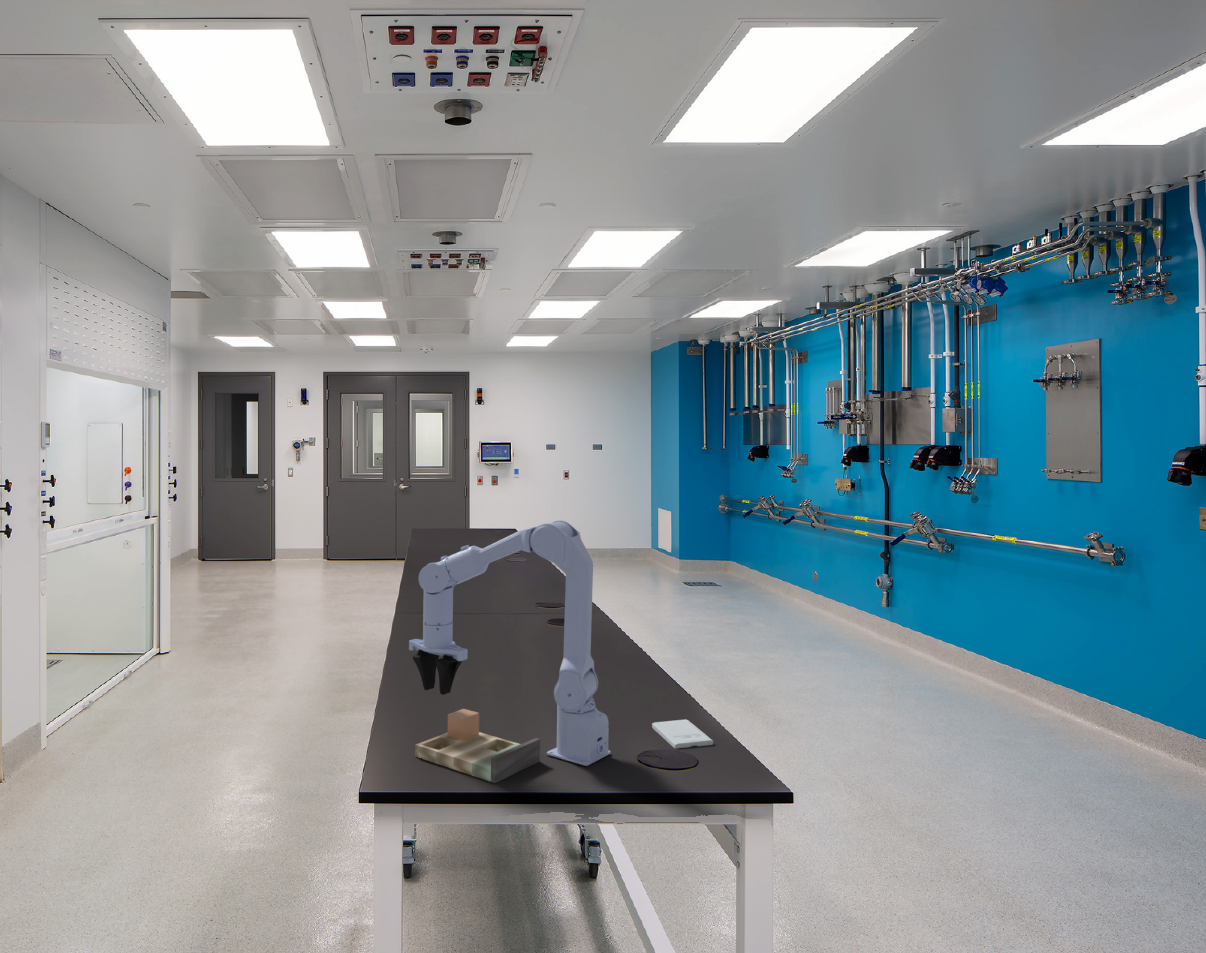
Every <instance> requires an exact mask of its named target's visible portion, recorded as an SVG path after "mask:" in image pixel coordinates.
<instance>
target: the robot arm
mask: <svg viewBox="0 0 1206 953" xmlns="http://www.w3.org/2000/svg"><path fill="white" fill-rule="evenodd" d="M520 551H523V552H526V553H530V554H531V553H535V554H536V555H537V556H539V557H541V558H543V559H544V560H547V561H549V562H551V563H553V564H555V565H556V566H557V567H558V568H559V569H560V570H561V571H562V573H563V572H564V574H565V587H564V588H565V595H564V624H563V625H564V626H563V627H564V629H563V630H564V631H563V632H564V633H563V656H562V657H563V658H562V662H561V665H560V668H559V674H558V676H559V677H558V680H557V682H556V683H555V686H554V689H553V698H554V702H555V703H556V706H557V707H556V711H557V712H556V715H557V716H556V747H555V748H552V749H549V750H548V751H547V752H546V755H548V756H550V757H553V758H557V759H561V760H563V761H567V762H570V763H571V762H572V763H575V764H579V765H581V766H585V767H588V766H590V765H592V764H594V763H596V762H597V761H599V760H601V759H603V758H604V757H607V756H608V755H610V754H611V750H609V734H610V732H609V727H610V726H609V724H610V723H609V718H608V715H607V714H605V713H603V712H602V711H599V709H597V707H596V702H595V700H594V697H593V696H594V694H596V692H597V690H598V688H599V678H598V676H597V673H596V671H595V660H594V659H593V657H592V655H591V652H592V651H591V649H592V648H591V647H592V622H593V621H592V617H593V616H592V615H593V587H594V586H593V582H594V581H593V580H594V577H593V576H594V561H593V559H592V557H591V556H590V554H589V552H588V550H587V548H586V546H585V543H584V542H583V541H582V538H581V533H580V531H579V530H577V528H576V527H574V526H573V525H572V524H571V523H569V522H568V521H566V520H556V521H552V522H550V523H542V524H539V525H538V526H537V525H536V526H534V527H533V526H532V527H529V528H524V529H521V530H518V531H516V532H514V533H512V534H510V535H508V536H506V537H504V538H502V539H499V540H498V541H496V542H493V543H492V544H489V545H487V546H486V547H483V548H481V547H479V546H476V545H472V546H470V545H469V544H467V545H464V546H461V547H460V551H458V552H456V553H453V554H451V555H449V556H448V555H443V556H441V557H440V561H437V562H430V563H427V564H426V565H425V566H423V567H422V568H421V569H420V571H419V573H418V584H419V587H420V588H421V589H422V590H423V601H422V602H423V607H422V608H423V612H422V614H423V615H422V616H423V618H422V621H423V622H422V624H423V625H422V627H423V629H422V639H419V638H413V639H410V640H409V641H408V650H409V651H417V654H413V655H412V661H413V662H414V663H415V665H416V667H417V669H418V672H419V675H420V678H421V683H422V685H423V686H422V687H423V690H424V691H429V690H432V689H435V685H436V675H437V674H436V672H437V673H438V680H439V681H438V683H439V684H438V685H439V687H438V688H439V693H440V695H447V694H451V691H452V687H453V684H454V680H455V676H456V674H457V672H458V670H459V668H460V666H461V665H462V663H463V661H466V660H468V657H469V656H468V651H469V649H468V648H463V647H461V646H459V645H456V642H455V641H453V638H454V637H453V635H454V634H453V633H454V632H453V629H454V627H453V625H454V624H453V620H454V619H453V618H454V617H453V616H454V614H453V613H454V611H453V610H454V608H453V607H454V588H455V586H456V585H458V584H461V583H462V584H463V583H464V582H466V581H469V580H470V579H473V578H476V577H478V576H480V575H482V574H484V573H485V572H486V571H487V570H488V567H489V564H491V563H492V562H496V561H498V560H501V559H503V558H506V557H508V556H509V555H512V554H515V553H517V552H520ZM440 656H441V657H442V658H440Z"/></svg>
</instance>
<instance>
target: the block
mask: <svg viewBox="0 0 1206 953" xmlns="http://www.w3.org/2000/svg"><path fill="white" fill-rule="evenodd" d="M447 732H448V736H449V737H453V738H456V739H459V740H462V741H464V740H466V739H469V738H471V737H474V736H476V735H479V732H480V712H477V711H475V710H474V711H473V710H469V709H466V708H461V709H459V710H455V711H454V712H449V713H448V714H447Z"/></svg>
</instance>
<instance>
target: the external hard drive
mask: <svg viewBox="0 0 1206 953" xmlns="http://www.w3.org/2000/svg"><path fill="white" fill-rule="evenodd" d="M651 728H652V729H653V730H654V731H655V732H656V733H658V735H659V736H661V737H662V738H663V739H664V741H666V742H667V743H668V744H669V745H670V746H672V748H674V749H676V750H677V749H683V748H691V747H704V746H712V745H714V740H713V739H711V738H710V737H709V736H708V735H707V734H706V733H705V732H703V731H702V730H701V729H699V728H698V727H697V726H696V725H695V724H693V723H692V722H691V721H690V720H688V719H677V720H667V721H666V720H665V721H655V722H652V723H651Z"/></svg>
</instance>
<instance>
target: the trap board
mask: <svg viewBox="0 0 1206 953" xmlns="http://www.w3.org/2000/svg"><path fill="white" fill-rule="evenodd" d="M414 748H415V749H414V757H416V758H418V759H419V758H420V759H421V758H422V759H421V760H425V761H428V762H431V763H434V764H437V765H440V766H443V767H446V768H449V769H451V770H454V771H458V772H461V773H463V774H466V775H469V776H473V777H476V778H478V779H480V780H481V779H482V780H484V781H488V782H490V783H493V784H496V783H499V782H500V781H503V780H505V779H507V778H509V777H510V776H513V775H515V774H518V773H520V772H521V771H523V770H525V769H527V768H529V767H531V766H534V765H536V764H538V763H539V762H540V761H541V739H540V738H538V737H535V738H532V739H530V740H527V741H525V742H523V743H518V742H514V741H511V740H507V739H504V738H500V737H498V736H493V735H490V734H487V733H483V732H481V731H479V735H476V736H474V737H471V738H469V739H466V740H464V741H462V740H459V739H456V738H453V737H449V736H448V731H446V732H445V733H443V734H439V735H437V736H435V737H432V738H429V739H426V740H424V741H421V742H419V743H416V744H415V746H414Z"/></svg>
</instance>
